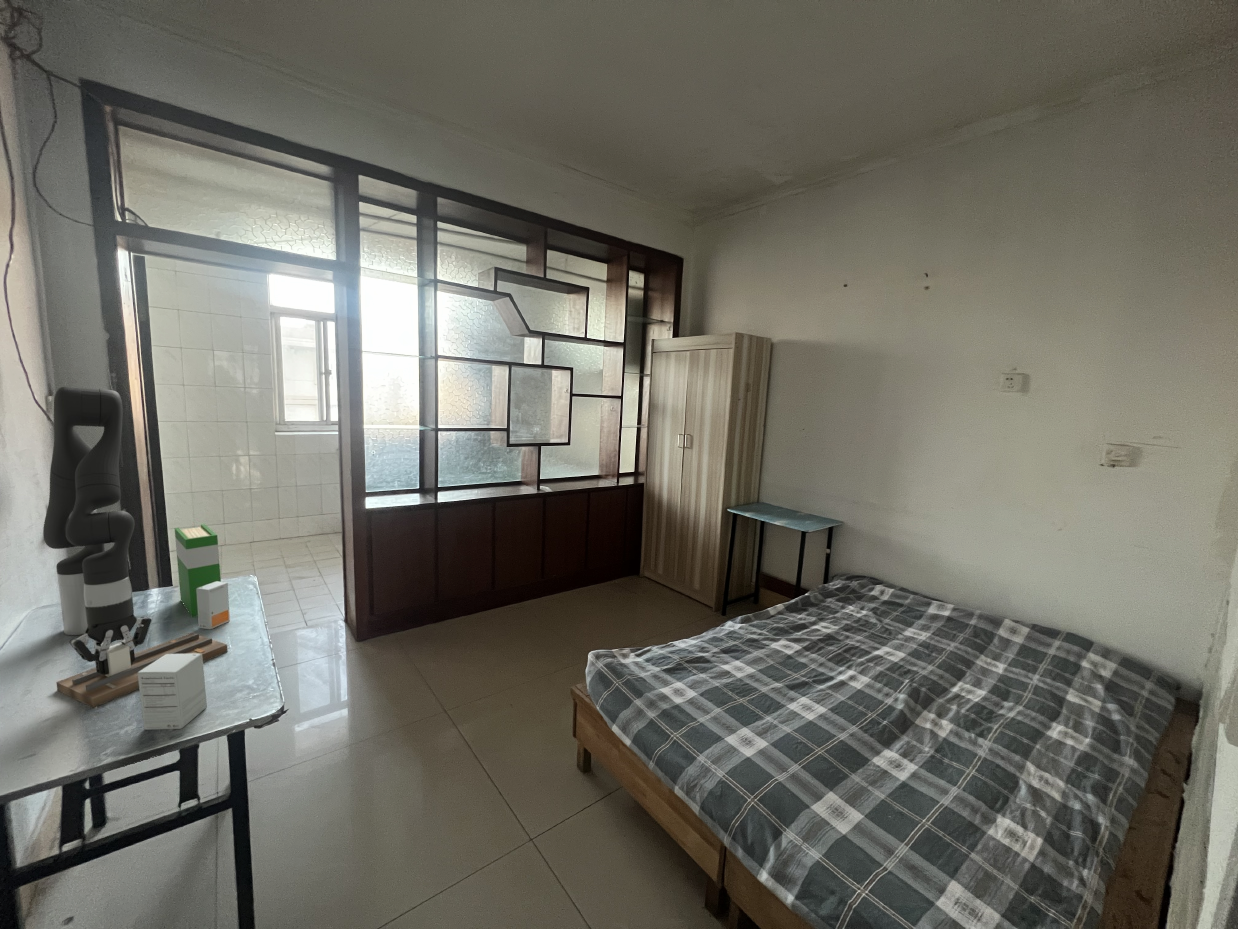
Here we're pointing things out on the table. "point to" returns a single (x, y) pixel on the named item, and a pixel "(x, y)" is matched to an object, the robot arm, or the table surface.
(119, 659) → the fader tab
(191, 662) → the supplement box
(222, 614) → the skincare box
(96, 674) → the fader console
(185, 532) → the hardback book
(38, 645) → the table surface
